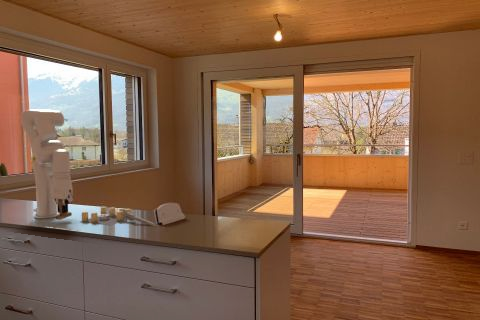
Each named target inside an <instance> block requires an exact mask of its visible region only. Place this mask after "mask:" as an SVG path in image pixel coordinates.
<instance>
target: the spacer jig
mask: <svg viewBox="0 0 480 320" xmlns="http://www.w3.org/2000/svg"><path fill="white" fill-rule="evenodd" d="M124 210H125V211H126V210H127V212H128V213H130V214H132V209H131V208H125V207H124V208H123V207H121V208H118V211H116V207H113V206H112V207H109V215H110V219H108V220H98V215H99V214H98V212H91V213H90V218H89V211H82V212H81V220H80V221H79V223H85V224H92V225H93V224H94V225H101V226H113V225H115V224H116V225H117V224H119V223H121V222H126V221H125V217H124V221H122V212H123V211H124ZM101 214H108V212H107V206H101V207H100V215H101ZM128 220H130V219H129V218H128V219H127V221H128Z"/></svg>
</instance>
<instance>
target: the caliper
mask: <svg viewBox="0 0 480 320" xmlns="http://www.w3.org/2000/svg"><path fill="white" fill-rule="evenodd" d="M124 217H125V221H124ZM128 218H129V219H128ZM127 219H128V220H131V221H136V222H139V223H142V224H145V225H148V226H150V227H151V226H153V227H156V226H157V224H156V223H154V222H152V221H150V220H147V219H144V218H141V217H139V216H135V214H132V213H131V214H130V213H128V212H127V210H126V211H125V210H124V211H123V212H122V222H127V221H128V220H127Z"/></svg>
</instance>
